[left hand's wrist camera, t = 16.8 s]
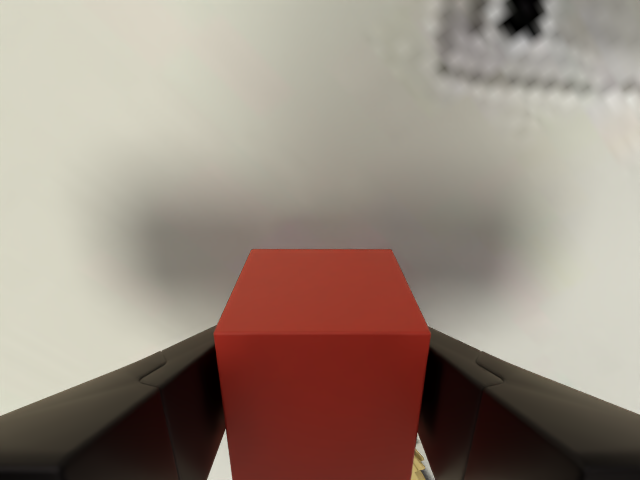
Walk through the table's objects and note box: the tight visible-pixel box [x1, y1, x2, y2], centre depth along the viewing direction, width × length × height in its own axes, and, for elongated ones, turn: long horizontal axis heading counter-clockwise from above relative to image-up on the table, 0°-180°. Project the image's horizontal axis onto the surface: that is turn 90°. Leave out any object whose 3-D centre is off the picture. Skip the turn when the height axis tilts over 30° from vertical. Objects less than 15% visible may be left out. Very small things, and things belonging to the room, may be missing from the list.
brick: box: [213, 249, 431, 480], centre depth 11 cm, size 5×5×4 cm
